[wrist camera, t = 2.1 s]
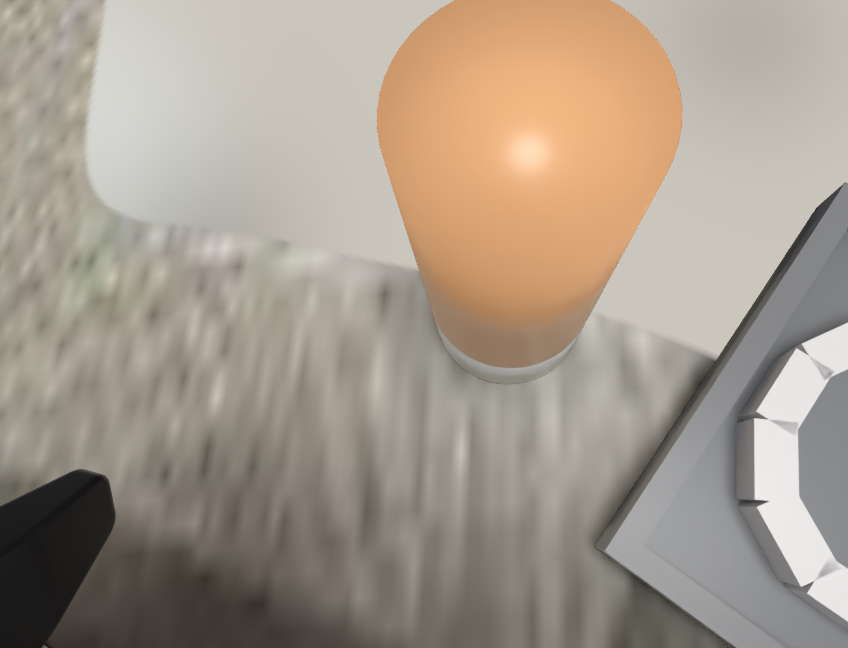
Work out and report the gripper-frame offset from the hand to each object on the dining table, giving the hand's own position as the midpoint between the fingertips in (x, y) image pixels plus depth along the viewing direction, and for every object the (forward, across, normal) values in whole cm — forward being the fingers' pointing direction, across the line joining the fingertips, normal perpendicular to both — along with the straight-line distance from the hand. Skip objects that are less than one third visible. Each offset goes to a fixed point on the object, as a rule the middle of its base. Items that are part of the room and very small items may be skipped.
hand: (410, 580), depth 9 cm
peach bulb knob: (+15, 0, +4) cm, 16 cm away
